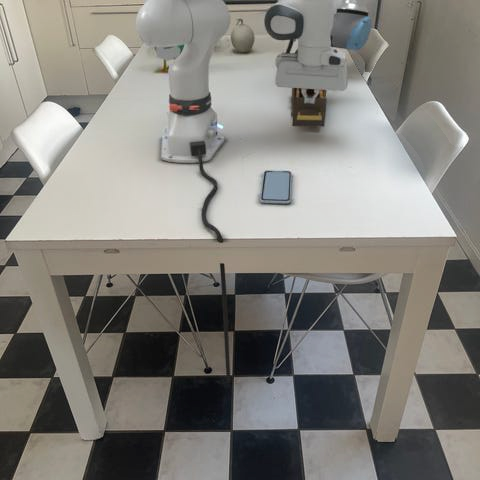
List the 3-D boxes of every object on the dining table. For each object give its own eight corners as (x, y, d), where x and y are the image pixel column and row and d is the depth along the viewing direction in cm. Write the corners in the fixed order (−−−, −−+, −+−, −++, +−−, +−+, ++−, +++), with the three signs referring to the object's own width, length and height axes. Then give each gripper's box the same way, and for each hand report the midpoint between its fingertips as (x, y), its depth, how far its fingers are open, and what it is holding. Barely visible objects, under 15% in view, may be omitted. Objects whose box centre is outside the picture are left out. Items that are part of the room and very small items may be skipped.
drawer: (325, 132, 149) (327, 104, 145) (291, 132, 150) (293, 104, 146) (322, 107, 170) (324, 82, 165) (293, 106, 170) (294, 81, 166)
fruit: (247, 46, 238) (247, 12, 230) (258, 52, 229) (258, 17, 221) (227, 49, 235) (225, 14, 226) (236, 55, 226) (235, 19, 218)
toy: (155, 65, 218) (148, 2, 203) (198, 69, 211) (194, 5, 197) (145, 70, 212) (137, 6, 198) (190, 75, 205) (185, 9, 191)
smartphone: (259, 200, 123) (263, 170, 135) (259, 204, 124) (263, 173, 136) (290, 201, 123) (291, 170, 134) (290, 204, 123) (291, 174, 135)
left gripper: (274, 55, 140) (272, 104, 148) (350, 59, 137) (344, 109, 145) (277, 48, 145) (275, 96, 153) (350, 53, 142) (344, 101, 150)
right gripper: (348, 14, 165) (342, 82, 178) (276, 14, 167) (274, 81, 180) (350, 19, 159) (343, 90, 172) (274, 19, 161) (273, 88, 174)
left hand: (309, 102), depth 149 cm, fingers closed
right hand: (308, 85), depth 176 cm, fingers closed on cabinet, 11 cm apart
